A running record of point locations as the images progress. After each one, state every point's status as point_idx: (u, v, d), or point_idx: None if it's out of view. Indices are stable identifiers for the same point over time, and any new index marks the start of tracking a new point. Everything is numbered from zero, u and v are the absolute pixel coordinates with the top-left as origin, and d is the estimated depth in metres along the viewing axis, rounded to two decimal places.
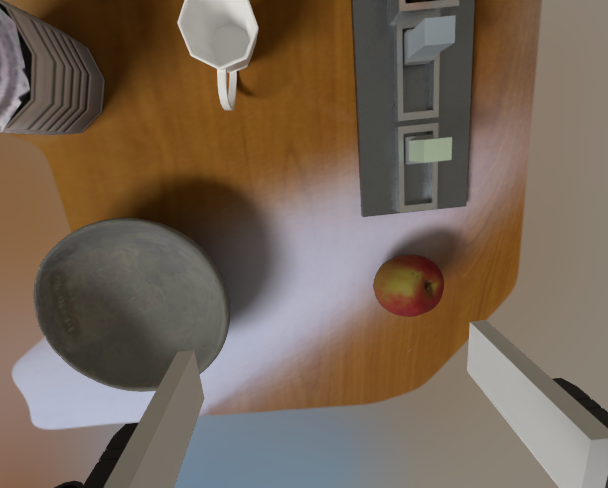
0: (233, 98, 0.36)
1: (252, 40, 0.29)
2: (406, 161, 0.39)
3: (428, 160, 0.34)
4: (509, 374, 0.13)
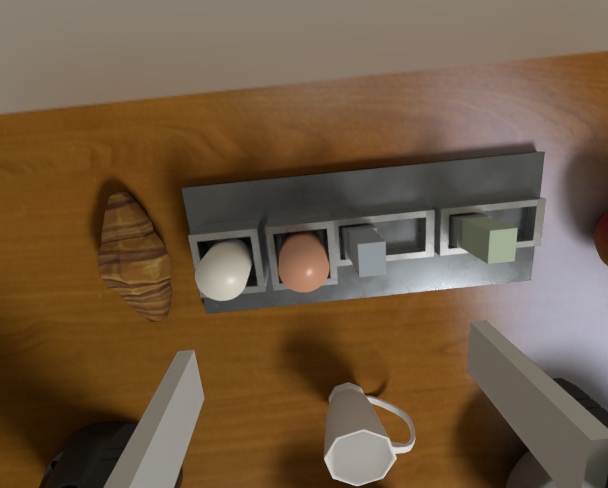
0: (394, 408, 0.38)
1: (374, 434, 0.31)
2: None
3: (513, 256, 0.27)
4: (509, 374, 0.13)
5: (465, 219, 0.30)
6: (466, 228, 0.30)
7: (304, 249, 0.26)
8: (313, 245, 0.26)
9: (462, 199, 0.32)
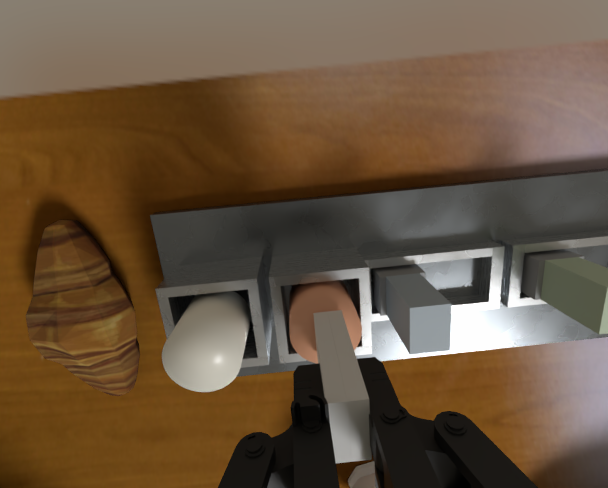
0: None
1: None
2: None
3: None
4: None
5: (550, 261, 0.21)
6: (553, 274, 0.21)
7: (327, 306, 0.18)
8: (340, 300, 0.18)
9: (539, 230, 0.23)
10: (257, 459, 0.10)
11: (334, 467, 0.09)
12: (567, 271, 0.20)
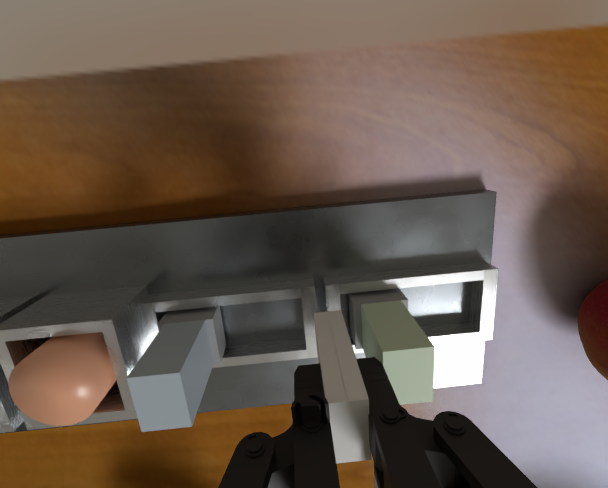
0: None
1: None
2: None
3: (429, 393, 0.15)
4: None
5: (364, 306, 0.18)
6: (364, 323, 0.18)
7: (48, 362, 0.15)
8: (66, 354, 0.15)
9: (365, 266, 0.20)
10: (257, 459, 0.10)
11: (335, 467, 0.09)
12: (369, 322, 0.17)
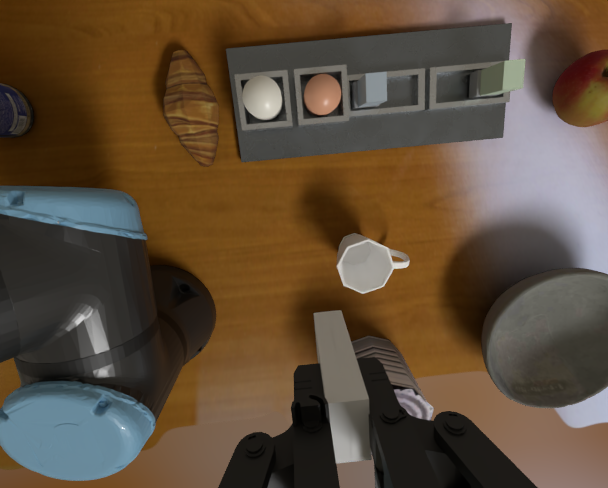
0: (392, 251, 0.46)
1: (376, 243, 0.39)
2: None
3: (521, 83, 0.35)
4: None
5: (483, 69, 0.39)
6: (484, 75, 0.38)
7: (323, 78, 0.36)
8: (330, 76, 0.36)
9: (447, 63, 0.40)
10: (257, 459, 0.10)
11: (334, 467, 0.09)
12: (490, 67, 0.37)
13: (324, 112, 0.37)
